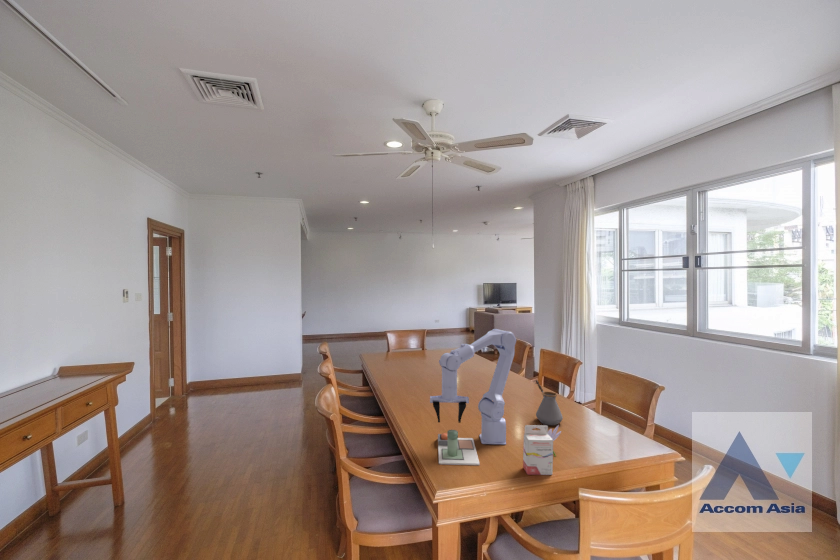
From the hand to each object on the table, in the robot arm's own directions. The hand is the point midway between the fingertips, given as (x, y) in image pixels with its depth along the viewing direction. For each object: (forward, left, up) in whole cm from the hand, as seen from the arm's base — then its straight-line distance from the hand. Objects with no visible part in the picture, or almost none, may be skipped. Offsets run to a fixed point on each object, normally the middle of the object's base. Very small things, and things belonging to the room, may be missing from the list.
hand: (449, 421), depth 138 cm
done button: (+1, -4, -9) cm, 10 cm away
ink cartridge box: (-29, +15, -11) cm, 34 cm away
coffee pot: (-46, -33, -11) cm, 58 cm away
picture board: (-3, +2, -10) cm, 11 cm away
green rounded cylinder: (-1, +6, -10) cm, 11 cm away
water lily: (-36, 0, -11) cm, 37 cm away
